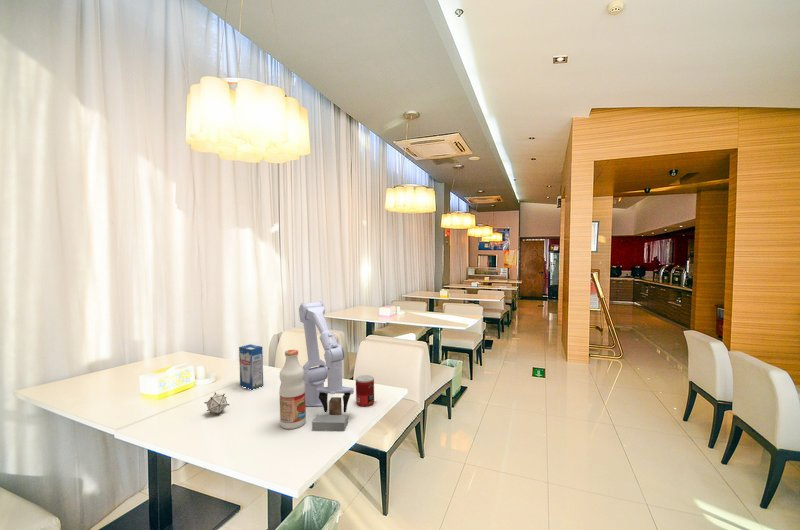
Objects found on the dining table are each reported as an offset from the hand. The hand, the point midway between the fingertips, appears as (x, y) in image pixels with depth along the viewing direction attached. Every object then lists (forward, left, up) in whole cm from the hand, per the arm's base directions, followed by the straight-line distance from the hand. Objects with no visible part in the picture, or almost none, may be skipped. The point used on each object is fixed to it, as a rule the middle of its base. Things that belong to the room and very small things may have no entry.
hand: (335, 411), depth 136 cm
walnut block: (0, 0, -2) cm, 2 cm away
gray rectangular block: (0, -8, -2) cm, 8 cm away
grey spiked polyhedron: (-50, +2, -2) cm, 50 cm away
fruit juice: (-15, -6, -2) cm, 16 cm away
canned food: (+10, +13, -2) cm, 16 cm away
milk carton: (-50, +31, -2) cm, 59 cm away
